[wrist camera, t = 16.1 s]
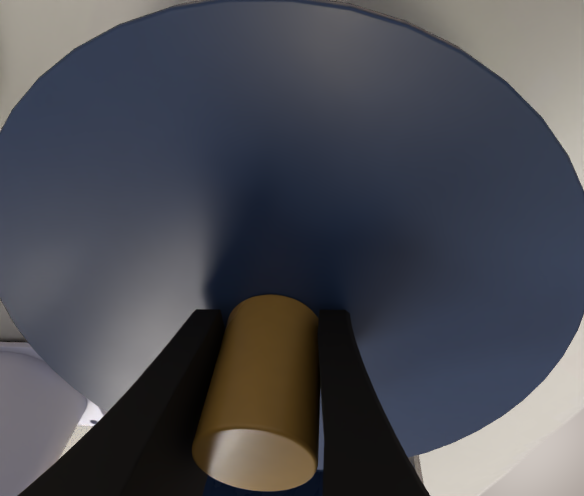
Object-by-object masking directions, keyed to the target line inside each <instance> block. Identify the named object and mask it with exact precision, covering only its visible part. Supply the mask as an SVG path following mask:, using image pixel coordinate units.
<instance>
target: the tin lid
mask: <svg viewBox="0 0 584 496" xmlns="http://www.w3.org/2000/svg"><path fill="white" fill-rule="evenodd" d="M0 299H1V301H2V303H3V305H4V306H5V308H6V310H7V312H8V313H9V315H10V317H11V318H12V320H13V322H14V324H15V325H16V327H17V328H18V329H19V331H20V332H21V334H22V335H23V336H24V338H25V339H26V340H27V342H28V343H29V344H30V346H31V347H32V348H33V349H34V350H35V352H36V353H37V354H38V355H39V356H40V357H41V358H42V359H43V360H44V361H45V362H46V363H47V364H48V366H49V367H50V368H51V369H52V370H53V371H54V372H56V373H57V374H58V375H59V376H60V377H61V378H62V379H63V380H65V381H66V382H67V383H68V384H69V385H70V386H71V387H72V388H74V389H75V390H76V391H78V392H79V393H80V394H82V395H83V396H85V397H86V398H87V399H89V400H90V401H91V402H93V403H94V404H95V405H97V406H99V407H100V408H102V409H103V410H105V411H107V412H108V411H109V410H110V409H111V408H112V407H113V406H114V404H115V403H116V402H117V401H118V400H119V399H120V398H121V397H122V396H123V395H124V394H125V393H126V392H127V391H128V390H129V388H130V387H131V386H132V385H133V384H134V383H135V382H136V381H137V379H138V378H139V377H140V376H141V375H142V374H143V372H144V371H145V370H146V369H147V368H148V367H149V365H150V364H151V363H152V362H153V361H154V360H155V359H156V357H157V356H158V355H159V354H160V353H161V351H162V350H163V349H164V348H165V346H166V345H167V344H168V343H169V342H170V340H171V339H172V338H173V337H174V335H175V334H176V333H177V332H178V330H179V329H180V328H181V327H182V325H183V324H184V323H185V322H186V320H187V319H188V318H189V317H190V316H191V314H192V313H193V312H194V311H195V310H196V309H220V310H221V314H222V318H223V322H224V326H225V332H224V335H223V339H222V342H221V346H220V349H219V353H218V356H217V360H216V363H215V367H214V370H213V374H212V377H211V380H210V384H209V387H208V391H207V394H206V398H205V401H204V405H203V408H202V412H201V415H200V419H199V422H198V426H197V429H196V432H195V436H194V439H193V443H192V456H193V459H194V461H195V463H196V464H197V466H198V467H199V468H200V469H201V470H202V471H203V472H205V473H206V474H207V475H209V476H210V477H212V478H214V479H216V480H218V481H220V482H222V483H225V484H227V485H230V486H234V487H237V488H242V489H246V490H253V491H281V490H287V489H292V488H295V487H298V486H300V485H302V484H304V483H306V482H307V481H309V480H310V479H311V478H312V477H313V476H314V474H315V472H316V470H323V463H324V433H323V419H322V404H321V384H320V369H319V353H318V336H317V333H318V319H319V310H346V311H348V312H349V313H350V318H351V323H352V328H353V332H354V336H355V339H356V343H357V346H358V349H359V352H360V355H361V357H362V360H363V363H364V365H365V368H366V371H367V373H368V375H369V378H370V380H371V383H372V385H373V387H374V390H375V392H376V394H377V397H378V399H379V401H380V403H381V405H382V408H383V410H384V412H385V414H386V416H387V418H388V420H389V422H390V424H391V426H392V428H393V430H394V432H395V434H396V436H397V438H398V440H399V442H400V444H401V446H402V447H403V449H404V451H405V453H406V455H407V457H408V458H409V457H412V456H416V455H419V454H423V453H427V452H429V451H432V450H435V449H437V448H440V447H443V446H446V445H448V444H451V443H453V442H456V441H458V440H460V439H462V438H464V437H466V436H468V435H470V434H472V433H474V432H477V431H478V430H480V429H482V428H483V427H485V426H487V425H488V424H490V423H492V422H493V421H495V420H497V419H498V418H500V417H502V416H503V415H504V414H506V413H507V412H508V411H510V410H511V409H512V408H513V407H515V406H516V405H517V404H519V403H520V402H521V401H523V400H524V399H525V398H526V397H527V396H528V395H529V394H530V393H531V392H532V391H533V390H534V389H535V388H536V387H537V386H538V385H539V384H541V383H542V382H543V381H544V380H545V378H546V377H547V376H548V375H549V373H550V372H551V371H552V370H553V368H554V367H555V366H556V364H557V363H558V362H559V361H560V359H561V358H562V357H563V355H564V353H565V352H566V350H567V348H568V346H569V345H570V343H571V341H572V339H573V338H574V336H575V334H576V332H577V331H578V328H579V326H580V323H581V320H582V317H583V315H584V190H583V188H582V185H581V183H580V181H579V179H578V176H577V174H576V172H575V169H574V167H573V165H572V163H571V160H570V158H569V156H568V154H567V153H566V151H565V150H564V148H563V147H562V145H561V144H560V143H559V141H558V140H557V138H556V137H555V135H554V134H553V132H552V131H551V129H550V128H549V127H548V125H547V124H546V122H545V121H544V119H543V118H542V117H541V116H540V115H539V114H538V113H537V112H536V111H535V110H534V109H533V108H532V107H531V106H530V105H529V104H528V103H527V102H526V101H525V100H524V99H523V98H522V97H521V96H520V95H519V94H518V93H517V92H516V91H515V90H514V89H513V88H512V87H511V86H510V85H509V84H508V83H507V82H506V81H505V80H504V79H502V78H501V77H500V76H498V75H497V74H495V73H494V72H493V71H491V70H490V69H488V68H487V67H486V66H484V65H483V64H481V63H480V62H479V61H477V60H476V59H474V58H473V57H471V56H470V55H469V54H467V53H466V52H464V51H463V50H462V49H460V48H459V47H457V46H456V45H454V44H452V43H450V42H448V41H446V40H444V39H442V38H440V37H438V36H436V35H434V34H431V33H429V32H427V31H425V30H423V29H421V28H419V27H417V26H415V25H413V24H411V23H409V22H407V21H405V20H401V19H398V18H395V17H392V16H388V15H385V14H382V13H379V12H376V11H372V10H369V9H366V8H363V7H359V6H356V5H353V4H349V3H343V2H336V1H329V0H202V1H196V2H190V3H184V4H178V5H175V6H172V7H169V8H166V9H163V10H160V11H157V12H154V13H151V14H148V15H145V16H142V17H139V18H136V19H133V20H130V21H127V22H125V23H122V24H119V25H117V26H115V27H113V28H111V29H109V30H108V31H106V32H104V33H102V34H100V35H99V36H97V37H95V38H93V39H91V40H89V41H88V42H86V43H84V44H82V45H80V46H78V47H77V48H75V49H73V50H72V51H71V52H70V53H69V54H67V55H66V56H65V57H64V58H62V59H61V60H60V61H59V62H57V63H56V64H55V65H54V66H53V67H51V68H50V69H49V70H48V71H46V72H45V73H44V74H43V75H42V76H40V77H39V78H38V79H37V81H36V82H35V83H34V84H33V85H32V87H31V88H30V89H29V90H28V91H27V93H26V94H25V95H24V96H23V97H22V99H21V100H20V101H19V102H18V103H17V105H16V106H15V107H14V108H13V109H12V111H11V113H10V115H9V117H8V118H7V120H6V122H5V124H4V126H3V128H2V130H1V131H0Z"/></svg>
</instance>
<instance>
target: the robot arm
mask: <svg viewBox="0 0 584 496" xmlns="http://www.w3.org/2000/svg"><path fill="white" fill-rule="evenodd" d="M224 332H225V326H224V322H223V318H222V314H221V310H220V309H196V310H195V311H194V312H193V313H192V314H191V316H190V317H189V318H188V319H187V320H186V322H185V323H184V324H183V325H182V327H181V328H180V329H179V330H178V332H177V333H176V334H175V335H174V337H173V338H172V339H171V340H170V342H169V343H168V344H167V345H166V346H165V348H164V349H163V350H162V351H161V353H160V354H159V355H158V356H157V357H156V359H155V360H154V361H153V362H152V363H151V364H150V365H149V367H148V368H147V369H146V370H145V371H144V372H143V374H142V375H141V376H140V377H139V378H138V379H137V381H136V382H135V383H134V384H133V385H132V386H131V387H130V388H129V390H128V391H127V392H126V393H125V394H124V395H123V396H122V397H121V398H120V399H119V400H118V401H117V402H116V403H115V404H114V406H113V407H112V408H111V409H110V410H109V411H108V412H107V411H105V410H103V409H102V408H100V407H99V406H97V405H95V404H94V403H93V402H91V401H90V400H89V399H87V398H86V397H85V396H83V395H82V394H80V393H79V392H78V391H76V390H75V389H74V388H72V387H71V386H70V385H69V384H68V383H67V382H66V381H65V380H63V379H62V378H61V377H60V376H59V375H58V374H57V373H56V372H54V371H53V370H52V369H51V368H50V367H49V366H48V364H47V363H46V362H45V361H44V360H43V359H42V358H41V357H40V356H39V355H38V354H37V353H36V352H35V350H34V349H33V348H32V347H31V346H30V344H29V343H28V342H0V496H202V495H203V491H204V488H205V484H206V480H207V477H208V475H207V474H206V473H205V472H203V471H202V470H201V469H200V468H199V467H198V466H197V464H196V463H195V461H194V459H193V456H192V443H193V439H194V436H195V432H196V429H197V426H198V422H199V419H200V415H201V412H202V408H203V405H204V401H205V398H206V394H207V391H208V387H209V384H210V380H211V377H212V374H213V370H214V367H215V363H216V360H217V356H218V353H219V349H220V346H221V342H222V339H223V335H224ZM317 336H318V353H319V369H320V384H321V404H322V419H323V433H324V463H323V495H322V496H430V495H429V493H428V491H427V490H426V488H425V486H424V485H423V483H422V481H421V480H420V478H419V476H418V474H417V473H416V471H415V469H414V467H413V466H412V464H411V462H410V460H409V458H408V457H407V455H406V453H405V451H404V449H403V447H402V446H401V444H400V442H399V440H398V438H397V436H396V434H395V432H394V430H393V428H392V426H391V424H390V422H389V420H388V418H387V416H386V414H385V412H384V410H383V408H382V405H381V403H380V401H379V399H378V397H377V394H376V392H375V390H374V387H373V385H372V383H371V380H370V378H369V375H368V373H367V371H366V368H365V365H364V363H363V360H362V357H361V355H360V352H359V349H358V346H357V343H356V339H355V336H354V332H353V328H352V323H351V318H350V313H349V312H348V311H346V310H319V319H318V333H317ZM77 425H88V426H93V427H92V428H91V429H90V430H89V431H88V432H87V433H86V434H85V435H84V436H83V437H82V438H81V439H80V440H79V441H78V442H77V443H76V444H75V445H74V446H73V447H72V448H71V449H70V450H68V451H67V452H66V453H65V454H64V455H63V456H62V457H61V458H60V456H61V454H62V452H63V450H64V449H65V447H66V445H67V443H68V441H69V439H70V438H71V436H72V434H73V432H74V430H75V428H76V427H77ZM59 458H60V459H59Z"/></svg>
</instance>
